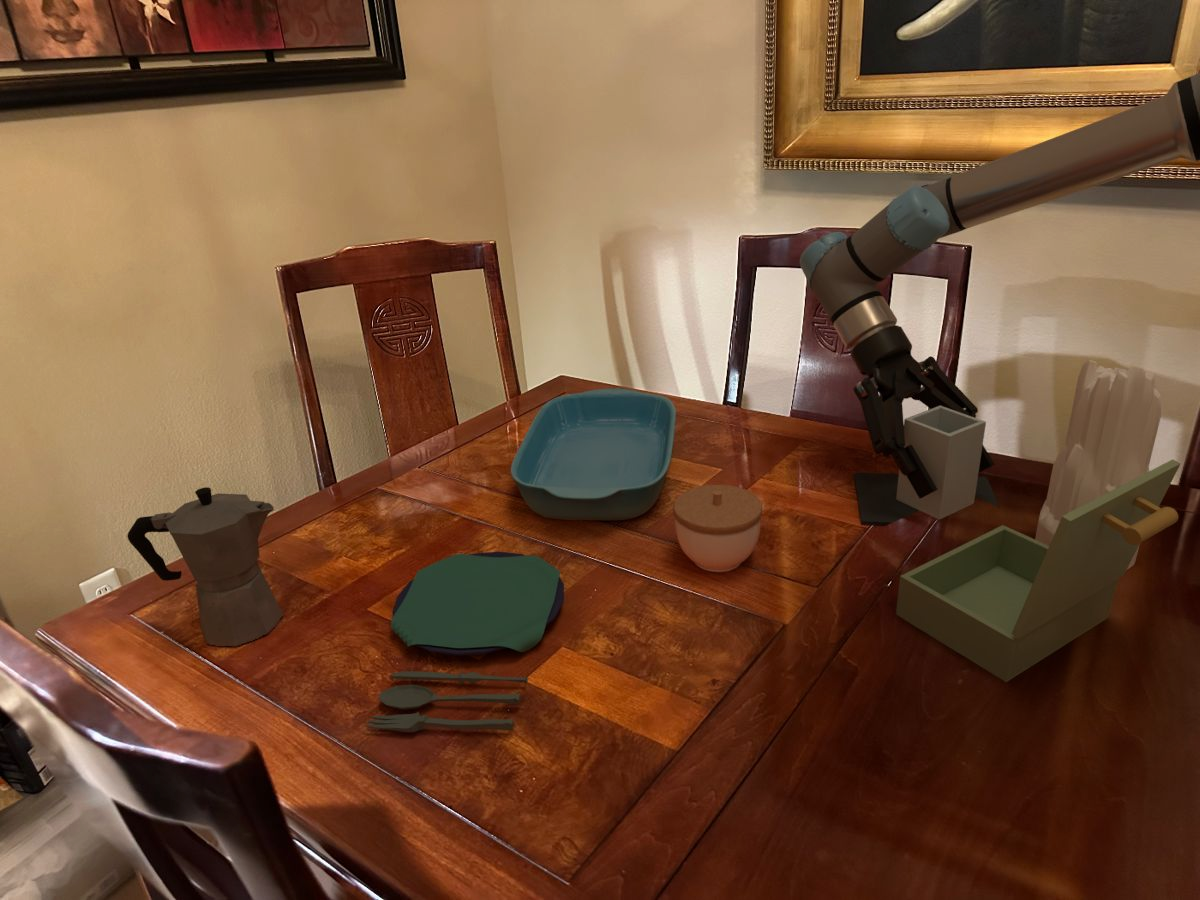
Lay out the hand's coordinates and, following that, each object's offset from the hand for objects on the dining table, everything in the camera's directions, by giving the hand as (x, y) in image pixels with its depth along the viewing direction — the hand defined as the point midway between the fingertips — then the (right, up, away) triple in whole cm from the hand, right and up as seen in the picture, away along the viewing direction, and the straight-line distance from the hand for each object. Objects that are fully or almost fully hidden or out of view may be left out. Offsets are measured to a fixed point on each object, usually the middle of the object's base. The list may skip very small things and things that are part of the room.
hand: (957, 481), depth 109 cm
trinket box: (-32, -10, -4) cm, 33 cm away
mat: (-2, -3, +6) cm, 7 cm away
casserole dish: (-46, 0, +18) cm, 50 cm away
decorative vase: (+12, -8, -8) cm, 17 cm away
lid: (0, -5, -30) cm, 30 cm away
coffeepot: (-90, -17, -10) cm, 92 cm away
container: (-1, -3, +4) cm, 5 cm away
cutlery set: (-61, -17, -15) cm, 65 cm away
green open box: (-3, -14, -18) cm, 23 cm away
